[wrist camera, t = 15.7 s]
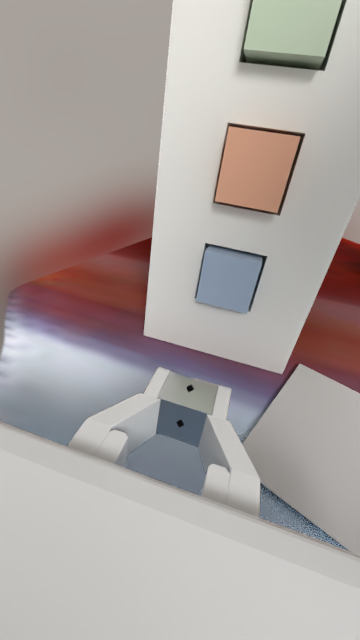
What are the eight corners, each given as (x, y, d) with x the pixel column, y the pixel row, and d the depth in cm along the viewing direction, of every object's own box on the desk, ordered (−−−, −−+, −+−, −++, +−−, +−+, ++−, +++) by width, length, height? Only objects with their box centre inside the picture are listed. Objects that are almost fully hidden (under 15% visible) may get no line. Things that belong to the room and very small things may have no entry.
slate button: (206, 280, 28) (215, 237, 26) (250, 291, 27) (263, 247, 25) (195, 300, 24) (205, 250, 22) (246, 313, 23) (262, 263, 21)
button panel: (172, 296, 37) (220, -47, 22) (278, 324, 35) (416, -40, 19) (143, 335, 28) (189, -185, 13) (282, 374, 26) (532, -201, 11)
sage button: (248, 74, 20) (267, -16, 18) (312, 81, 19) (340, -12, 17) (243, 49, 16) (267, -74, 13) (324, 57, 15) (364, -72, 13)
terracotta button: (224, 195, 24) (236, 134, 22) (275, 204, 23) (294, 142, 21) (214, 201, 20) (229, 126, 17) (277, 213, 19) (300, 136, 17)
